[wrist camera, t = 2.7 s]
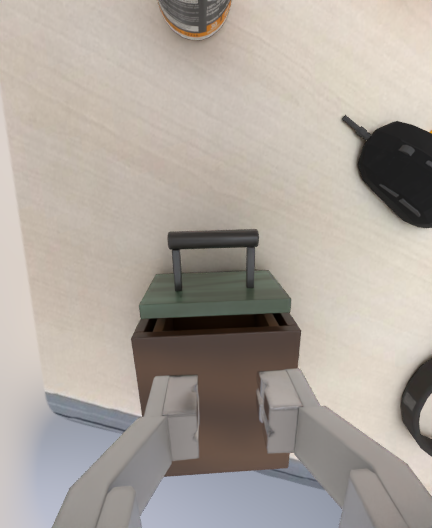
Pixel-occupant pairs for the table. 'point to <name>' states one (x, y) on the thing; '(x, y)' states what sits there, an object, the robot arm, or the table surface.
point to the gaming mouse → (399, 169)
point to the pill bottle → (195, 16)
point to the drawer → (214, 288)
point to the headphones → (417, 404)
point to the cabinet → (220, 386)
